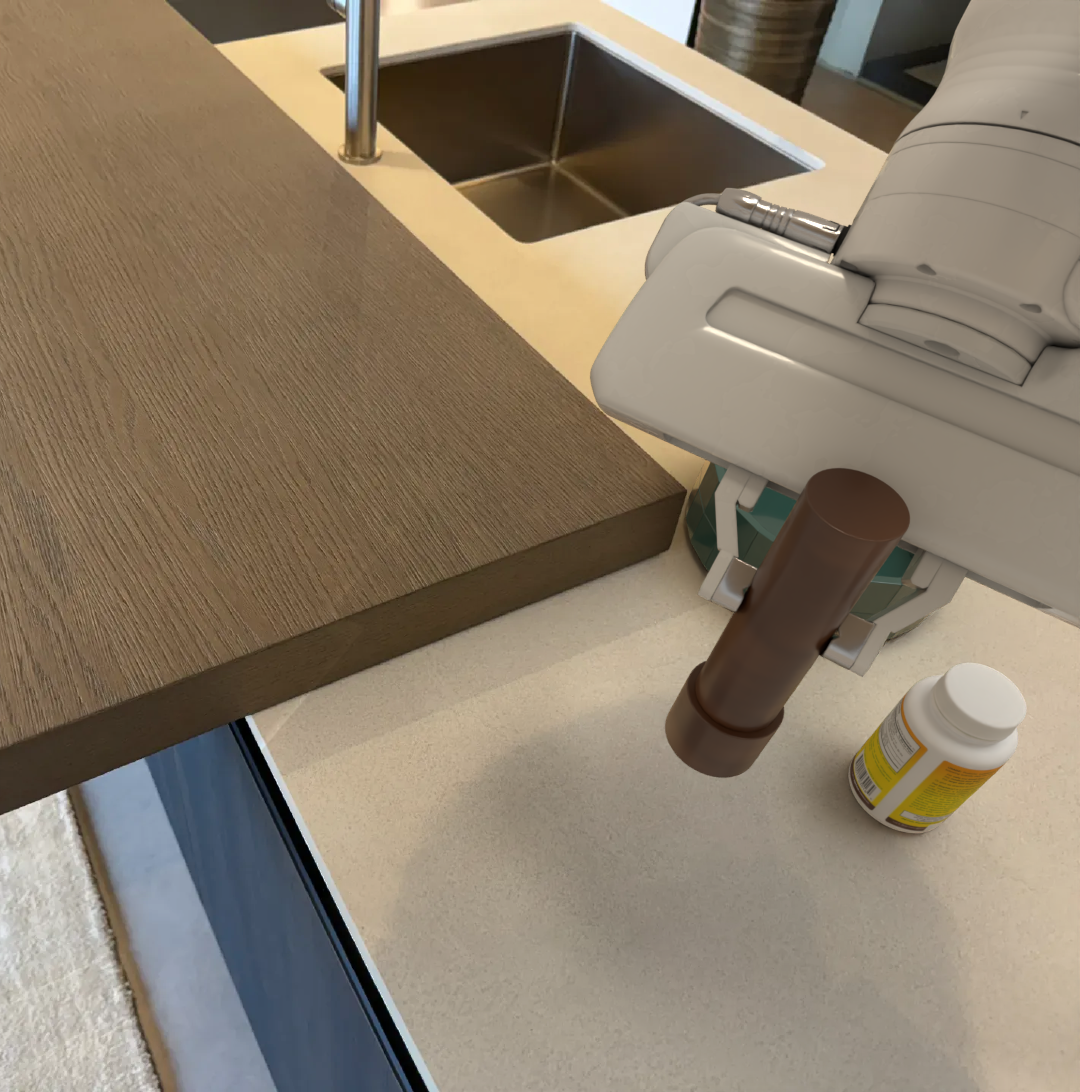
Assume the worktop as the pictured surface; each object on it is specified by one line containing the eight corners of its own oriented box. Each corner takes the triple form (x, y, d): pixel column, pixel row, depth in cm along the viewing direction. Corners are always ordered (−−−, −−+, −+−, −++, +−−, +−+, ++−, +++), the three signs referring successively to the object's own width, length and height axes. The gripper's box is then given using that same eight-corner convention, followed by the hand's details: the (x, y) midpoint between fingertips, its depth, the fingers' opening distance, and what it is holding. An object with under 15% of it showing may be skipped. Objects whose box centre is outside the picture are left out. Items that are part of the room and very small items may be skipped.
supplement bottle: (961, 801, 59) (1065, 704, 52) (910, 856, 57) (1011, 763, 49) (877, 733, 62) (964, 631, 54) (824, 783, 59) (908, 683, 52)
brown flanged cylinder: (769, 728, 43) (933, 494, 33) (738, 795, 41) (904, 568, 30) (684, 683, 44) (816, 444, 34) (650, 746, 42) (780, 511, 32)
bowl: (959, 530, 74) (1008, 465, 69) (900, 692, 64) (952, 630, 59) (732, 430, 80) (763, 363, 75) (645, 565, 70) (674, 499, 65)
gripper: (686, 135, 35) (501, 498, 37) (1376, 374, 29) (1113, 803, 30) (692, 201, 41) (532, 511, 43) (1264, 412, 34) (1050, 769, 36)
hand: (777, 635), depth 36 cm, fingers closed on brown flanged cylinder, 3 cm apart
